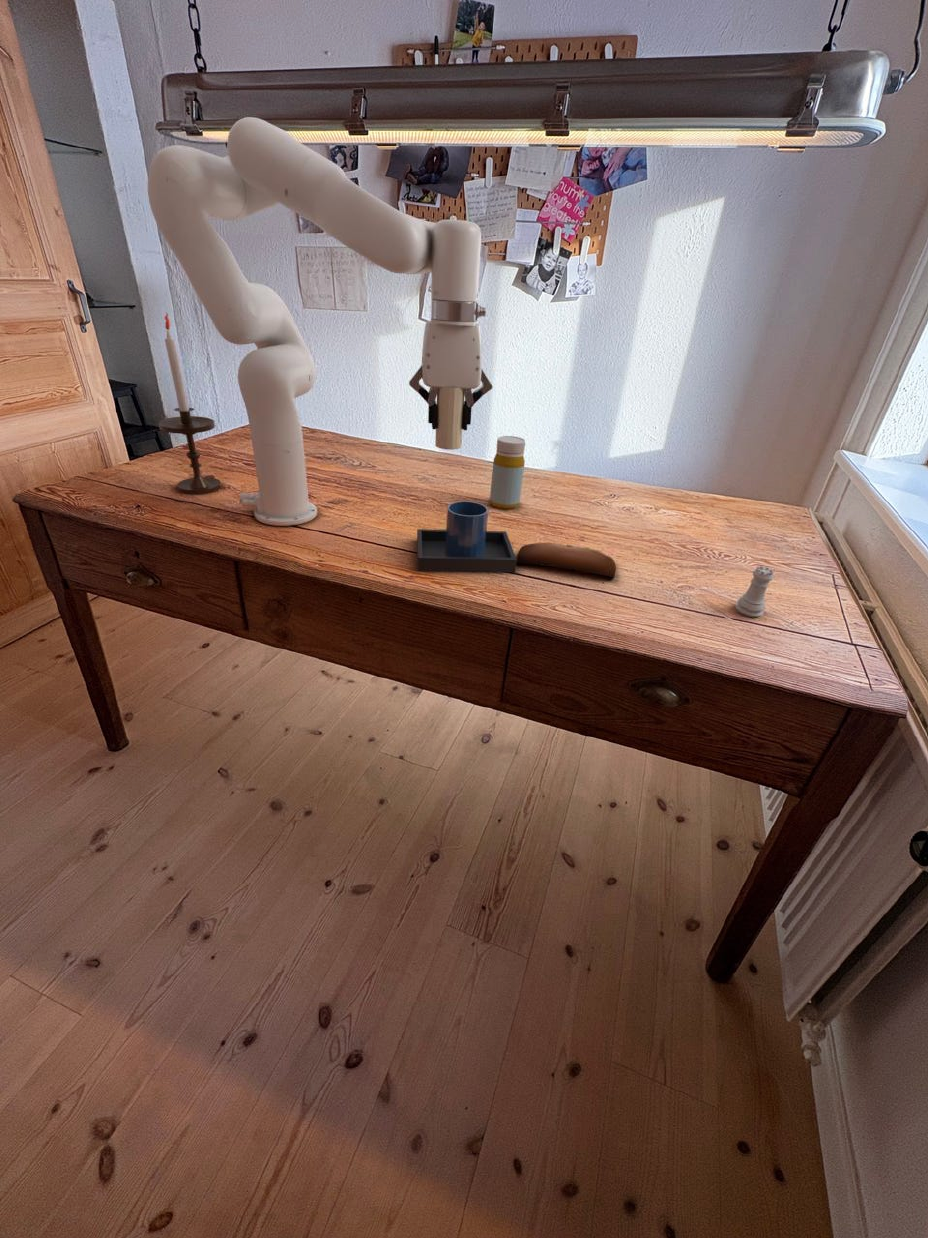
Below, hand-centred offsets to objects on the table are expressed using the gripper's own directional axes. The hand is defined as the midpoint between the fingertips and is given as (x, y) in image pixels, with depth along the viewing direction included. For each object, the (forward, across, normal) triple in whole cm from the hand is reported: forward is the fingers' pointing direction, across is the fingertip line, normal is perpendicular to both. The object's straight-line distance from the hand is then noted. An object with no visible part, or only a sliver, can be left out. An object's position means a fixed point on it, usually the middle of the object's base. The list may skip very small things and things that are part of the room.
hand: (449, 426), depth 99 cm
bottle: (+22, -16, -19) cm, 33 cm away
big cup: (+21, -3, +9) cm, 23 cm away
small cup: (+3, 0, 0) cm, 3 cm away
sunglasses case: (+22, -22, +12) cm, 33 cm away
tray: (+22, -3, +9) cm, 24 cm away
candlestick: (+21, +54, -25) cm, 64 cm away
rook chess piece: (+22, -50, +29) cm, 61 cm away
